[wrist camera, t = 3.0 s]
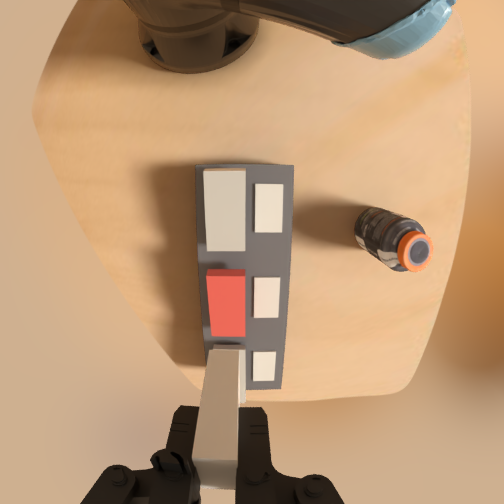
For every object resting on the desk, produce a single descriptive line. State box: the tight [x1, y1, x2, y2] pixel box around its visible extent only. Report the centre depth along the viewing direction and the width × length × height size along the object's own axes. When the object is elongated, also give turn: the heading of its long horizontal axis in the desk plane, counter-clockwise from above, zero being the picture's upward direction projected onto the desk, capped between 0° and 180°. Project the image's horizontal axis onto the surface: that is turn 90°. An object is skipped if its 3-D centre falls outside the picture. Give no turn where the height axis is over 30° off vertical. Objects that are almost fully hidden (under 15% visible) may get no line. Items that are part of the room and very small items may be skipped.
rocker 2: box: [213, 344, 246, 403], centre depth 33 cm, size 8×4×1 cm, turn 179°
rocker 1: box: [203, 168, 246, 251], centre depth 27 cm, size 8×4×1 cm, turn 0°
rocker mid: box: [206, 269, 245, 337], centre depth 30 cm, size 8×4×1 cm, turn 0°
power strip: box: [195, 164, 294, 390], centre depth 34 cm, size 29×10×6 cm, turn 0°
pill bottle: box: [355, 208, 433, 272], centre depth 30 cm, size 6×6×11 cm
